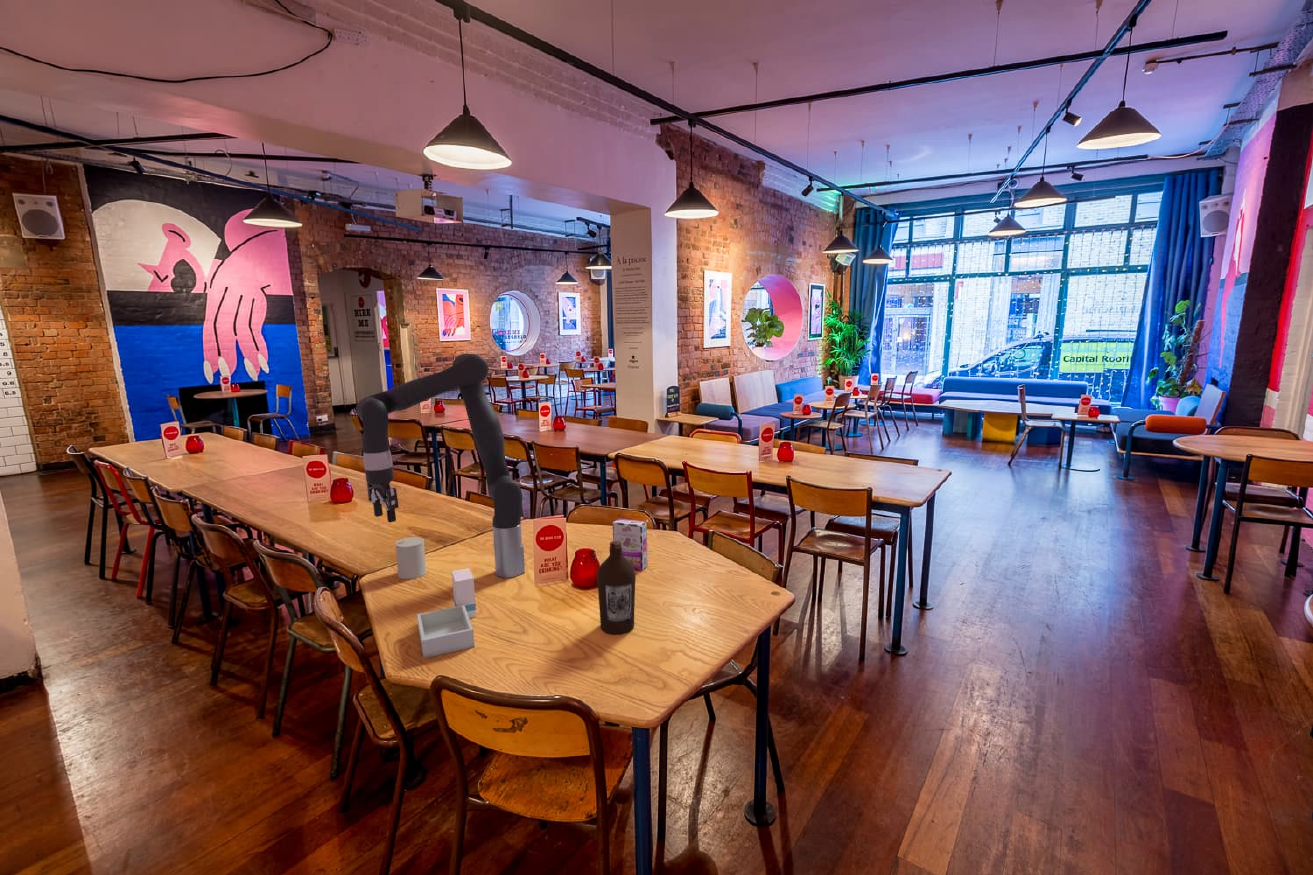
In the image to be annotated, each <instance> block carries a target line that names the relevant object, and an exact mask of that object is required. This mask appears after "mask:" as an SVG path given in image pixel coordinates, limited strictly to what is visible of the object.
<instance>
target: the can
mask: <svg viewBox="0 0 1313 875" xmlns="http://www.w3.org/2000/svg"><path fill="white" fill-rule="evenodd" d="M394 543H395V544H394V545H395V554H396V565H397V577H398V578H399V579H401V580H414V579H418V578H421V577H423V576H425V575H426V574H427V572H428V570H427V564H426V553H425V552H426V551H425V550H426V549H425V539H424V538H423V537H420V536H412V537H411V536H409V537H405V538H401V539H399V540H397V541H396V542H394Z"/></svg>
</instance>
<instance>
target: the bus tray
mask: <svg viewBox="0 0 1313 875" xmlns="http://www.w3.org/2000/svg"><path fill="white" fill-rule="evenodd" d="M416 617H417V628H418V634H419V641H420V646H421V651H422V657H423V660H424V659H429V658H432V657H436V656H441V655H445V654H450V653H454V652H458V651H463V650H467V649H473V648H475V638H474V637H475V636H474V635H475V634H474V628H473V625H472V622H471V620H470V619H471V618H469V616H468V614H467V611H466V608H465V605H460V606H455V607H454V606H451V607H447V608H442V609H441V608H440V609H436V610H431V611H427V612H426V611H425V612H420V613H417V614H416Z"/></svg>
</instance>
